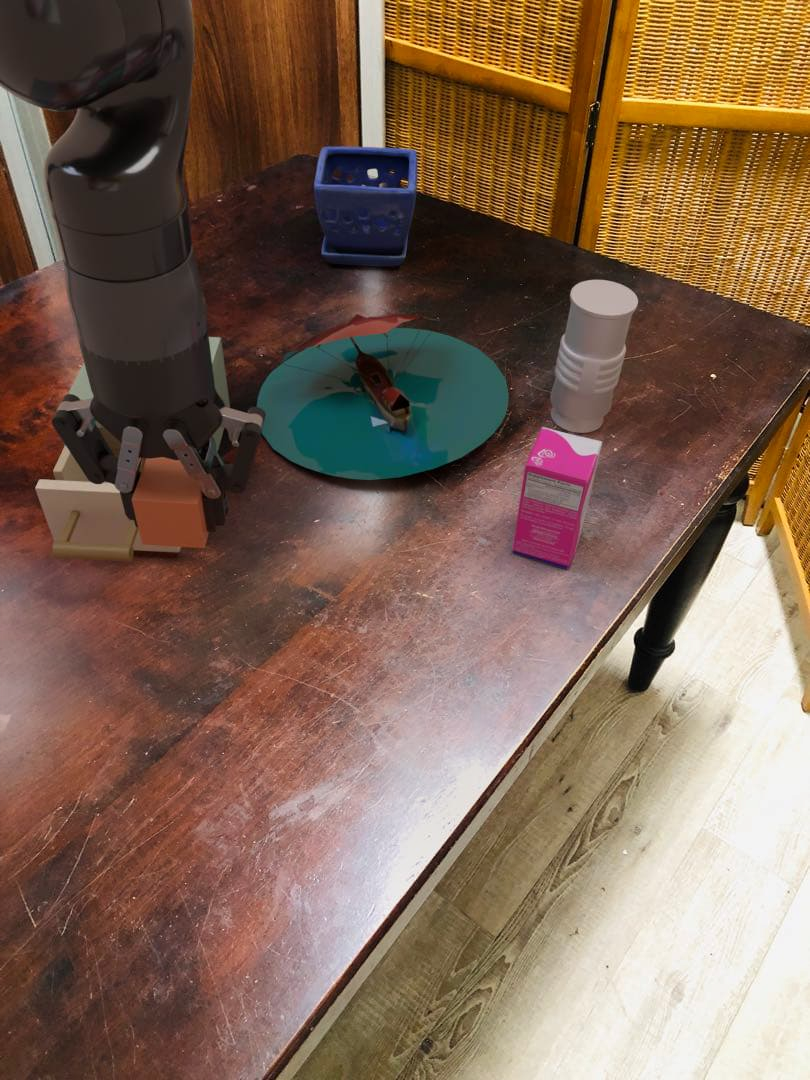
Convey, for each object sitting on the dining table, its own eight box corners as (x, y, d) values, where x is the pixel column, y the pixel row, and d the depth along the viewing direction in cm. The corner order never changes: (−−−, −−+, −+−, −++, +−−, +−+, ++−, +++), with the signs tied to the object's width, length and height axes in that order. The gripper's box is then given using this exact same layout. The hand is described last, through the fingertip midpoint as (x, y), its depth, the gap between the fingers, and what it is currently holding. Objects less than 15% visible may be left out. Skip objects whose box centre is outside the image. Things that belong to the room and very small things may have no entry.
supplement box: (525, 514, 87) (542, 423, 79) (583, 531, 86) (607, 441, 78) (508, 553, 84) (524, 462, 75) (568, 572, 82) (592, 481, 74)
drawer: (166, 596, 77) (152, 538, 72) (37, 589, 77) (13, 531, 72) (207, 457, 90) (198, 399, 85) (96, 451, 90) (80, 393, 85)
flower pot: (313, 272, 118) (310, 185, 110) (323, 225, 127) (321, 142, 119) (412, 277, 118) (416, 191, 110) (415, 230, 128) (419, 147, 119)
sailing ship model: (444, 318, 112) (442, 235, 104) (554, 442, 93) (562, 352, 85) (230, 376, 105) (211, 292, 97) (303, 523, 86) (286, 432, 78)
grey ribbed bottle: (544, 430, 97) (567, 311, 86) (548, 393, 101) (571, 275, 91) (607, 440, 96) (639, 320, 85) (608, 402, 101) (638, 284, 90)
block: (142, 544, 63) (131, 499, 60) (156, 501, 66) (147, 456, 63) (204, 548, 63) (197, 504, 60) (216, 505, 66) (210, 460, 63)
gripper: (-3, 348, 49) (66, 553, 62) (251, 365, 50) (269, 566, 62) (41, 278, 55) (96, 480, 67) (271, 294, 55) (284, 493, 67)
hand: (179, 521), depth 64 cm, fingers closed on block, 4 cm apart
